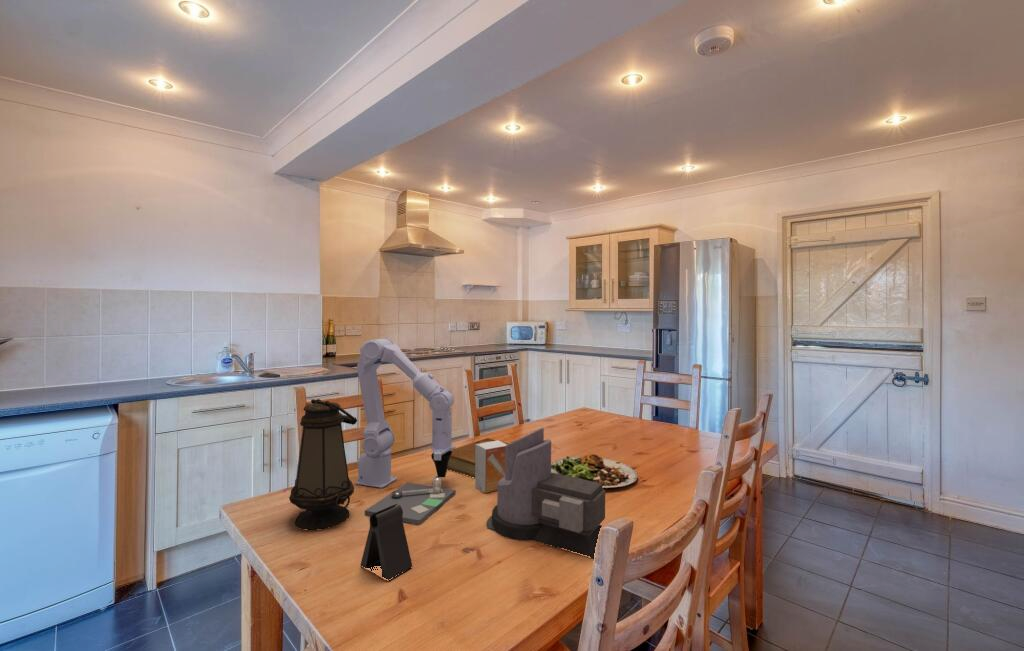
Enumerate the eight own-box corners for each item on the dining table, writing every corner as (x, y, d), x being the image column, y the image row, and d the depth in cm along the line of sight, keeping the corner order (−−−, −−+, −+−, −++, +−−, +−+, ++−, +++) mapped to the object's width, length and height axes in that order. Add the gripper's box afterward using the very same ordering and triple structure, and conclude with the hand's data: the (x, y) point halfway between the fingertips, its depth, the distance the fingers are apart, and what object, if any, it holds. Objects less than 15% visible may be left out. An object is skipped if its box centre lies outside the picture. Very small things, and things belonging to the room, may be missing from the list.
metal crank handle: (391, 498, 120) (391, 483, 120) (391, 494, 122) (391, 480, 122) (443, 493, 124) (443, 478, 124) (441, 489, 126) (441, 475, 126)
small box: (485, 494, 127) (485, 449, 127) (474, 486, 132) (474, 443, 132) (508, 488, 131) (509, 444, 131) (497, 481, 137) (497, 439, 136)
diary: (485, 452, 167) (486, 437, 167) (525, 463, 155) (525, 447, 155) (440, 468, 149) (440, 451, 149) (481, 482, 137) (481, 463, 137)
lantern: (272, 520, 110) (271, 400, 109) (327, 499, 123) (327, 391, 122) (315, 541, 100) (314, 409, 99) (370, 516, 112) (370, 399, 112)
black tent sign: (360, 566, 90) (360, 508, 90) (384, 553, 95) (384, 498, 95) (388, 582, 85) (388, 521, 84) (412, 568, 90) (412, 510, 89)
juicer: (474, 527, 107) (474, 427, 106) (508, 503, 121) (509, 415, 120) (591, 565, 91) (592, 448, 91) (615, 532, 105) (617, 430, 105)
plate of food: (537, 484, 135) (537, 465, 134) (561, 457, 160) (562, 440, 160) (631, 503, 124) (632, 482, 124) (641, 470, 150) (642, 452, 149)
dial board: (364, 515, 113) (364, 510, 113) (407, 486, 132) (407, 482, 132) (420, 525, 108) (420, 520, 108) (456, 494, 127) (456, 489, 127)
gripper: (451, 438, 124) (451, 486, 124) (458, 425, 138) (458, 468, 139) (426, 438, 124) (426, 485, 124) (436, 425, 138) (436, 468, 139)
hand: (441, 476), depth 131 cm, fingers closed
